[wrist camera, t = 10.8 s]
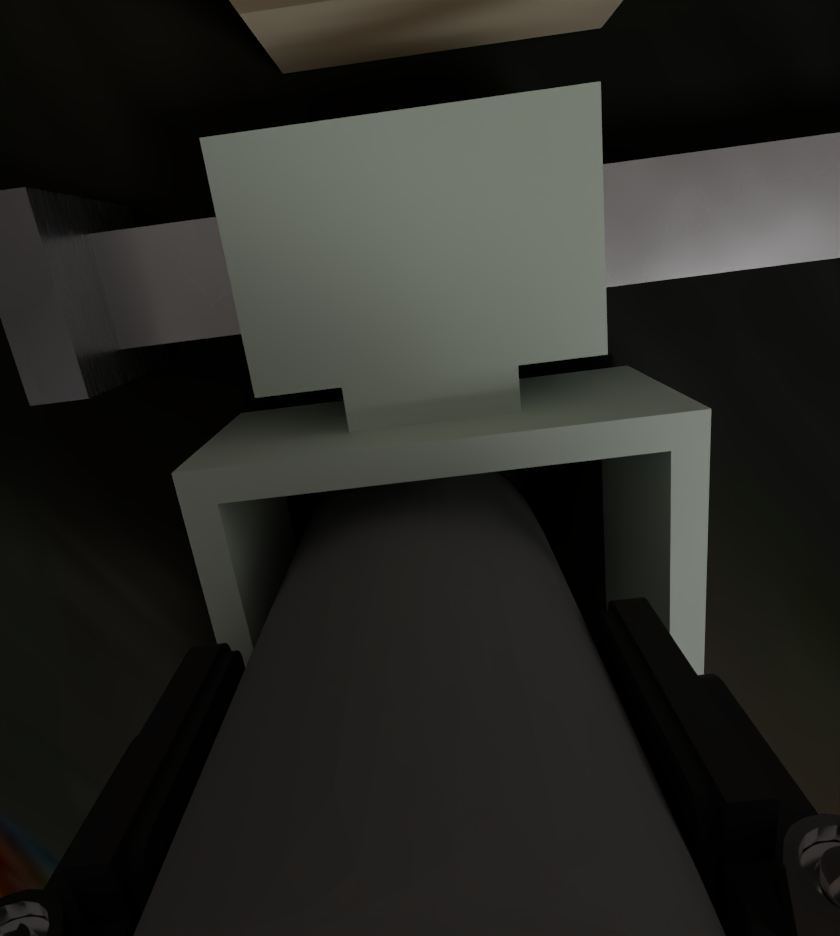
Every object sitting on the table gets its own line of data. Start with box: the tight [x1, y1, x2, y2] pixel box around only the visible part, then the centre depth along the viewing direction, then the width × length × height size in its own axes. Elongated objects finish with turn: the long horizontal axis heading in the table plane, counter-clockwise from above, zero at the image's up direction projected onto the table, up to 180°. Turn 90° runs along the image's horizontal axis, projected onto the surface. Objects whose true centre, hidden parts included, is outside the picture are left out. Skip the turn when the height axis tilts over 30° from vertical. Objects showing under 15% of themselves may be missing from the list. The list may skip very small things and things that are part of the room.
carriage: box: [171, 81, 711, 675], centre depth 12 cm, size 8×13×4 cm, turn 7°
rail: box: [0, 132, 840, 406], centre depth 11 cm, size 24×3×4 cm, turn 97°
